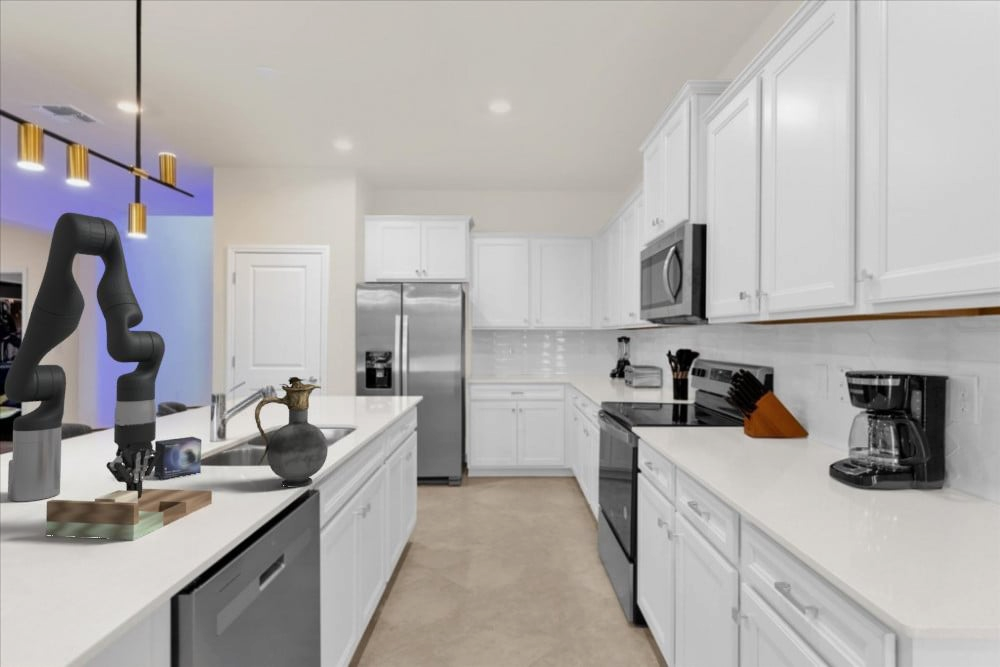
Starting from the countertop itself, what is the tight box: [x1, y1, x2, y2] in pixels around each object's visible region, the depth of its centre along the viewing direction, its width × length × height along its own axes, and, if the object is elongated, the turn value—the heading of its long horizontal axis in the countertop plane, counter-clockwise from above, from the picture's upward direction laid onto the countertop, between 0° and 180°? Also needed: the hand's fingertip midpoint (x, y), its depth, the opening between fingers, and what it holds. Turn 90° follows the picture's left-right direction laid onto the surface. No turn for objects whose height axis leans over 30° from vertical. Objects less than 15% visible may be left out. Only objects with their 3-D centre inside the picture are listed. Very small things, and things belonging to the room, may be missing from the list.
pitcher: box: [254, 376, 329, 487], centre depth 144 cm, size 11×19×30 cm, turn 126°
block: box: [94, 489, 138, 503], centre depth 110 cm, size 4×6×4 cm
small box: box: [153, 436, 202, 481], centre depth 153 cm, size 11×6×10 cm, turn 143°
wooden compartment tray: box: [45, 488, 213, 541], centre depth 116 cm, size 19×24×7 cm
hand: (134, 498), depth 115 cm, fingers closed
